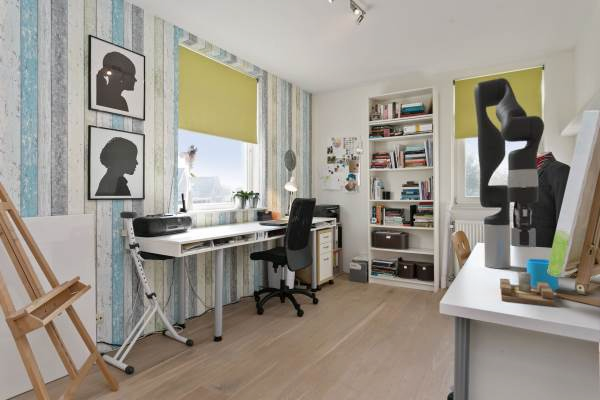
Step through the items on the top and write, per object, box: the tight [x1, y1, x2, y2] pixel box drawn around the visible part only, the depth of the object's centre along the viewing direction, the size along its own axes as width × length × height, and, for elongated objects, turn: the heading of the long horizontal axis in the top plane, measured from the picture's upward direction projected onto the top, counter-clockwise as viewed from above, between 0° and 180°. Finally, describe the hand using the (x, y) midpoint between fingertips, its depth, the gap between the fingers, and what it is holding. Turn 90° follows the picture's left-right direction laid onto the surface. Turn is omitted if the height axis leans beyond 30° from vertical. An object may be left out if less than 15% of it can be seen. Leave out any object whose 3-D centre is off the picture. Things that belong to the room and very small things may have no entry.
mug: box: [526, 258, 560, 291], centre depth 112 cm, size 12×8×8 cm
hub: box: [510, 227, 537, 248], centre depth 101 cm, size 6×6×5 cm
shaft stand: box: [499, 271, 556, 307], centre depth 101 cm, size 16×12×6 cm
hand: (523, 243), depth 101 cm, fingers closed on hub, 5 cm apart
